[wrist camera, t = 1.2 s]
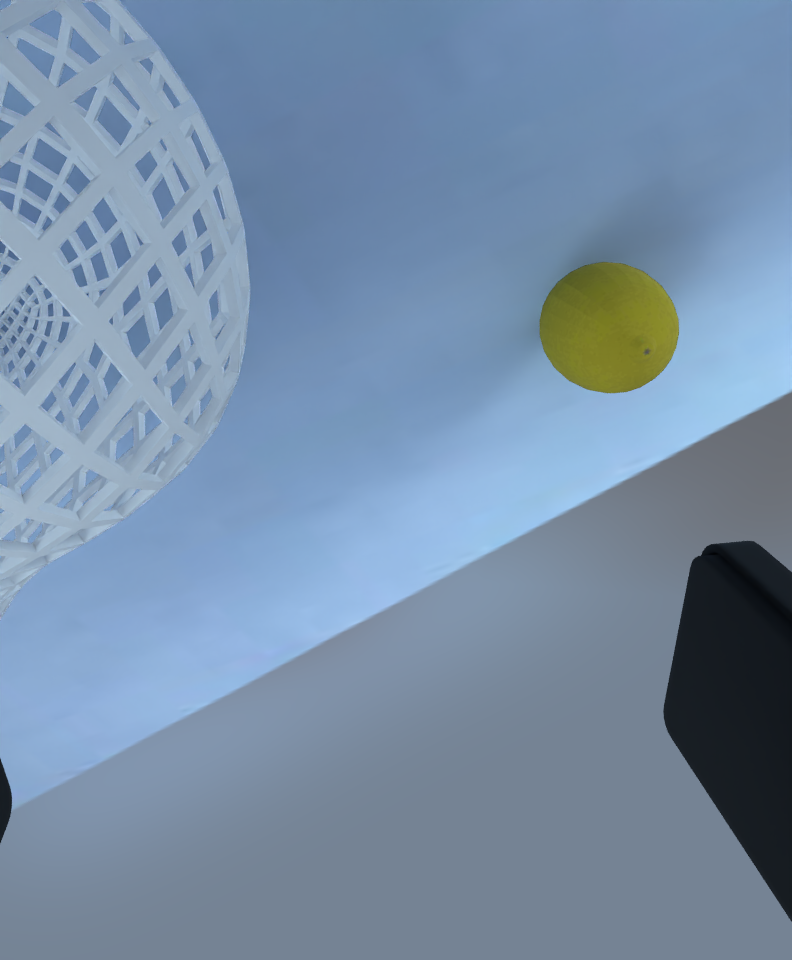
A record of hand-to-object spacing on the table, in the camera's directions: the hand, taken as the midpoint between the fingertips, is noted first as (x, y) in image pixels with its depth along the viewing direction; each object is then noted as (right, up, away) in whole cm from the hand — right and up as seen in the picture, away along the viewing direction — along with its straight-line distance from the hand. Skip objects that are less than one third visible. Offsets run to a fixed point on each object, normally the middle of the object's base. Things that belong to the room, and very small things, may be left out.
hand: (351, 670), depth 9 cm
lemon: (+9, +11, +27) cm, 30 cm away
